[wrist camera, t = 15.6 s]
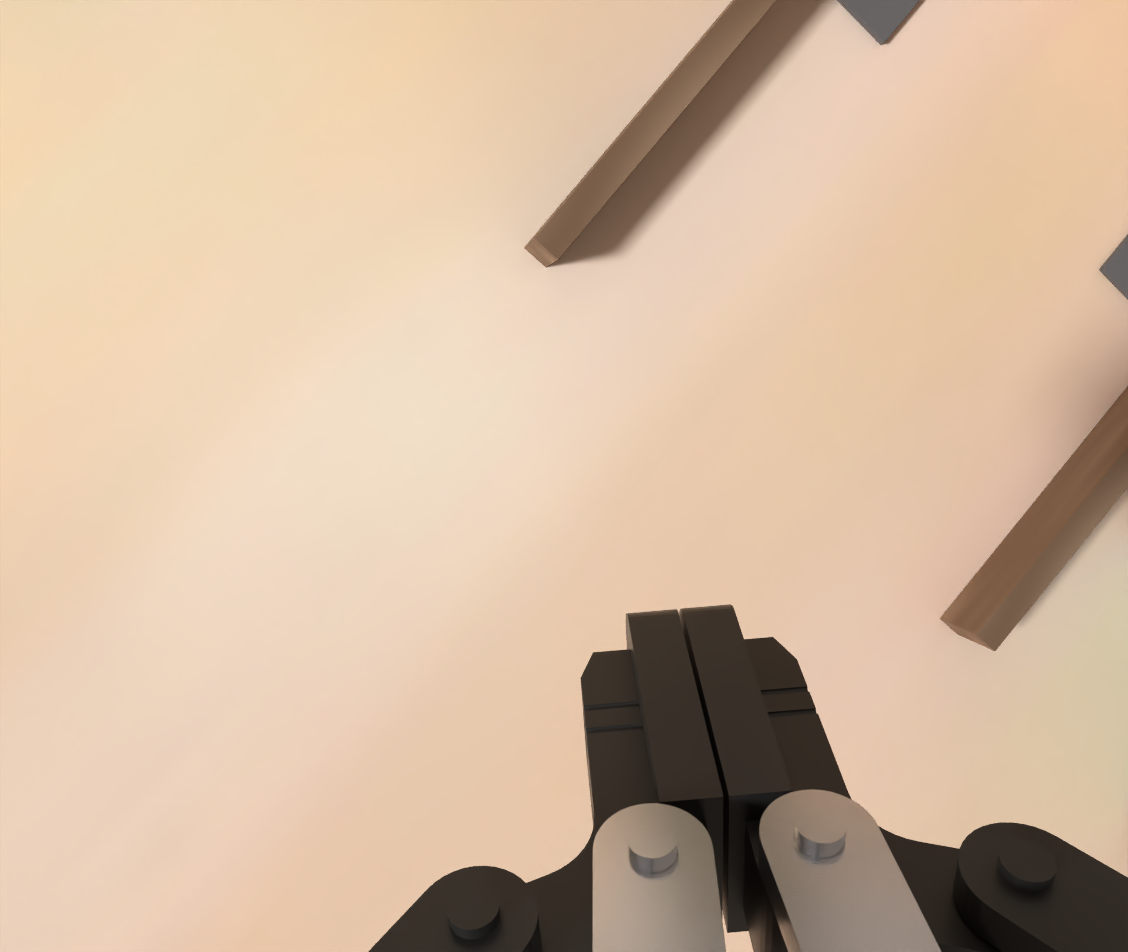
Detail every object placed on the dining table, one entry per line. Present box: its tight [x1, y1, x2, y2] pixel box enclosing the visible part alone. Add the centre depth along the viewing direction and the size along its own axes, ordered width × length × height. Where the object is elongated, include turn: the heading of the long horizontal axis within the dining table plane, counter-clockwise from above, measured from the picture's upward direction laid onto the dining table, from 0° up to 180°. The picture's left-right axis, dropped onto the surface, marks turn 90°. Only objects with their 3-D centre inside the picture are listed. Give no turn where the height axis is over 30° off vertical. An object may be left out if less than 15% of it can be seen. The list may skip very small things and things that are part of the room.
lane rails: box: [524, 0, 1128, 651], centre depth 36 cm, size 22×38×5 cm, turn 139°
